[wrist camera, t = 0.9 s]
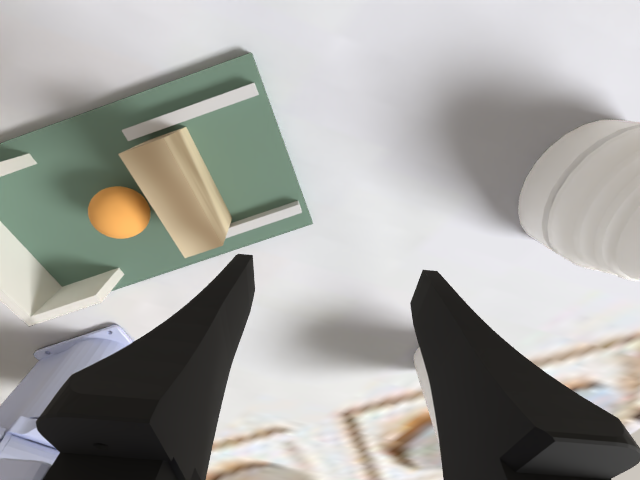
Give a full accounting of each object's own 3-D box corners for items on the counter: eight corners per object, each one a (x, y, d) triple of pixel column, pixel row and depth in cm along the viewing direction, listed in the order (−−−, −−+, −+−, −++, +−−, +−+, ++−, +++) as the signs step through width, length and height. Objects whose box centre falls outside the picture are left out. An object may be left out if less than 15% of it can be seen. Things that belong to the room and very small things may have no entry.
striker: (200, 228, 27) (185, 258, 22) (149, 139, 23) (117, 153, 18) (232, 218, 26) (222, 245, 22) (186, 126, 23) (163, 137, 18)
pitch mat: (69, 301, 29) (57, 313, 28) (-60, 165, 23) (-85, 172, 21) (311, 220, 28) (313, 228, 27) (252, 53, 22) (249, 51, 20)
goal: (60, 295, 28) (28, 326, 25) (-50, 181, 23) (-111, 200, 19) (124, 274, 28) (101, 302, 24) (29, 153, 22) (-18, 167, 19)
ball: (124, 231, 26) (100, 255, 22) (93, 189, 24) (62, 207, 20) (167, 216, 26) (149, 238, 22) (140, 172, 24) (116, 189, 20)
